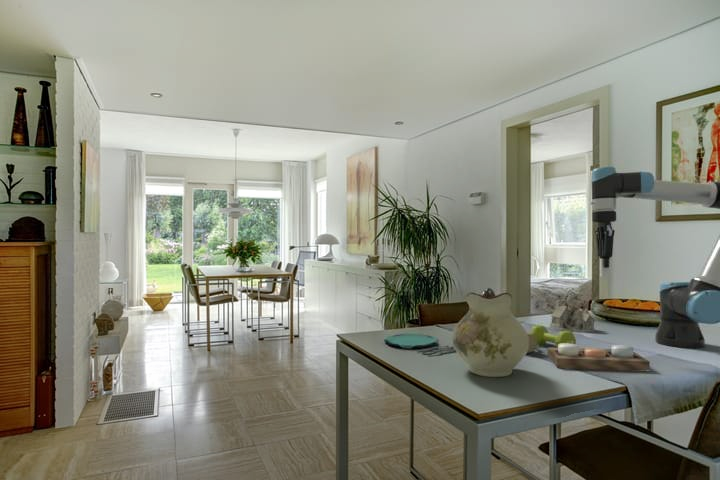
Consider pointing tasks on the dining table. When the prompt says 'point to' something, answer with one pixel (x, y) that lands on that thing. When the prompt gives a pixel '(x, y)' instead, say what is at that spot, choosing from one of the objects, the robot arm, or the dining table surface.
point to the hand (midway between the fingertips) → (605, 276)
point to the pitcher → (490, 335)
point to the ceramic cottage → (571, 317)
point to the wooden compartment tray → (598, 361)
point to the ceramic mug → (532, 343)
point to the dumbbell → (552, 336)
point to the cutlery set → (417, 343)
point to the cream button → (568, 349)
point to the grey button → (622, 351)
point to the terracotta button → (595, 352)
